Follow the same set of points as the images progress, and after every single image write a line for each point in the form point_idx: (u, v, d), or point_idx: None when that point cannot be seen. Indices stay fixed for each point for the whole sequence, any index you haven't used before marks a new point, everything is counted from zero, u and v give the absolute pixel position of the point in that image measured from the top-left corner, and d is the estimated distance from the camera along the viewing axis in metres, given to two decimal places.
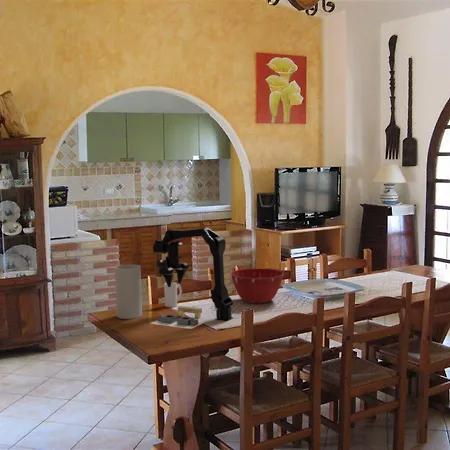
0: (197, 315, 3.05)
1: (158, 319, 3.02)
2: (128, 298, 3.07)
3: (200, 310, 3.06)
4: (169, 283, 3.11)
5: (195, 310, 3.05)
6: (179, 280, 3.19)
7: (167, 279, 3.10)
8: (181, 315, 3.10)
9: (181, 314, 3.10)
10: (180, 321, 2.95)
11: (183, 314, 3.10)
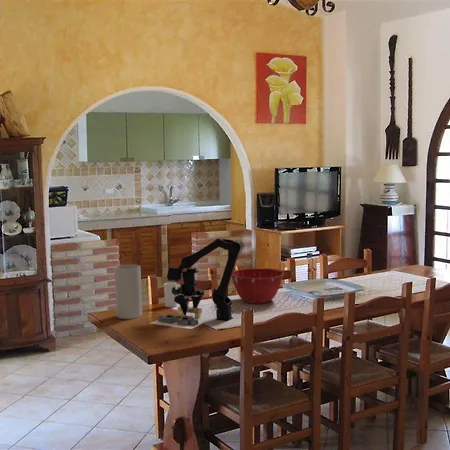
0: (197, 315, 3.05)
1: (158, 319, 3.02)
2: (128, 298, 3.07)
3: (200, 310, 3.06)
4: (185, 311, 3.03)
5: (195, 310, 3.05)
6: (194, 307, 3.12)
7: (183, 307, 3.03)
8: (181, 315, 3.10)
9: (181, 314, 3.10)
10: (180, 321, 2.95)
11: (183, 314, 3.10)
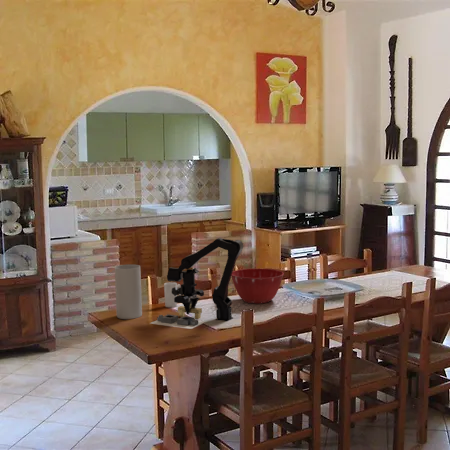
0: (197, 315, 3.05)
1: (158, 319, 3.02)
2: (128, 298, 3.07)
3: (200, 310, 3.06)
4: (188, 310, 3.06)
5: (195, 310, 3.05)
6: None
7: (186, 306, 3.06)
8: (181, 315, 3.10)
9: (181, 314, 3.10)
10: (180, 321, 2.95)
11: (183, 314, 3.10)
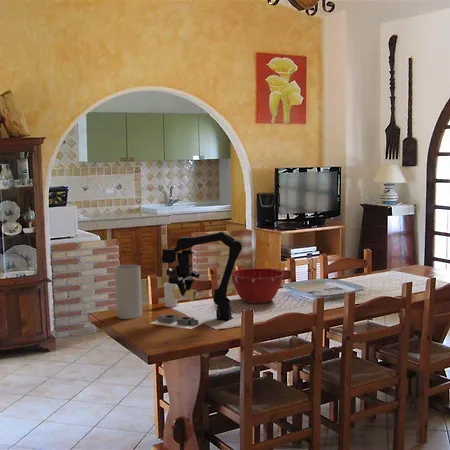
0: (192, 297, 3.01)
1: (158, 319, 3.02)
2: (128, 298, 3.07)
3: (195, 292, 3.01)
4: (182, 292, 3.02)
5: (190, 292, 3.01)
6: None
7: (180, 288, 3.01)
8: (176, 297, 3.06)
9: (176, 295, 3.05)
10: (180, 321, 2.95)
11: (178, 296, 3.06)
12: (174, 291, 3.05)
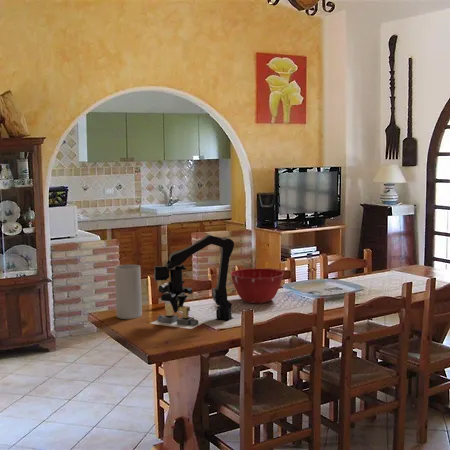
0: (185, 313, 2.96)
1: (158, 319, 3.02)
2: (128, 298, 3.07)
3: (188, 308, 2.96)
4: (175, 309, 2.96)
5: (183, 308, 2.95)
6: None
7: (173, 304, 2.96)
8: (168, 313, 3.00)
9: (169, 312, 3.00)
10: (180, 321, 2.95)
11: (170, 312, 3.00)
12: (167, 308, 3.00)
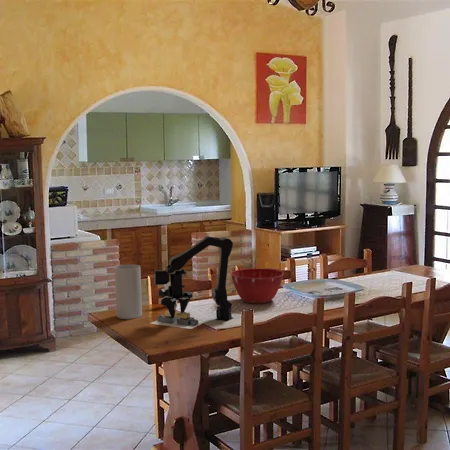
0: None
1: (158, 319, 3.02)
2: (128, 298, 3.07)
3: (188, 315, 2.96)
4: (172, 314, 2.94)
5: (183, 315, 2.96)
6: (182, 310, 3.02)
7: (170, 310, 2.94)
8: None
9: None
10: (180, 321, 2.95)
11: None
12: (167, 314, 3.00)
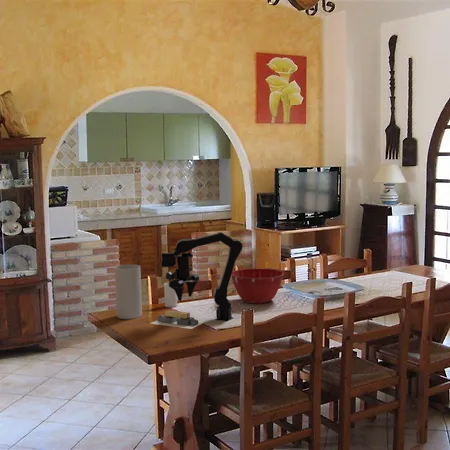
0: None
1: (158, 319, 3.02)
2: (128, 298, 3.07)
3: (188, 315, 2.96)
4: (180, 297, 2.96)
5: (183, 315, 2.96)
6: (190, 293, 3.05)
7: (178, 292, 2.96)
8: None
9: None
10: (180, 321, 2.95)
11: None
12: (167, 314, 3.00)
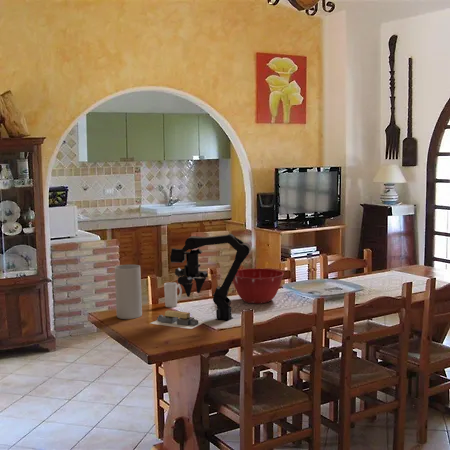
0: None
1: (158, 319, 3.02)
2: (128, 298, 3.07)
3: (188, 315, 2.96)
4: (188, 293, 3.00)
5: (183, 315, 2.96)
6: (198, 289, 3.09)
7: (186, 288, 3.00)
8: None
9: None
10: (180, 321, 2.95)
11: None
12: (167, 314, 3.00)
